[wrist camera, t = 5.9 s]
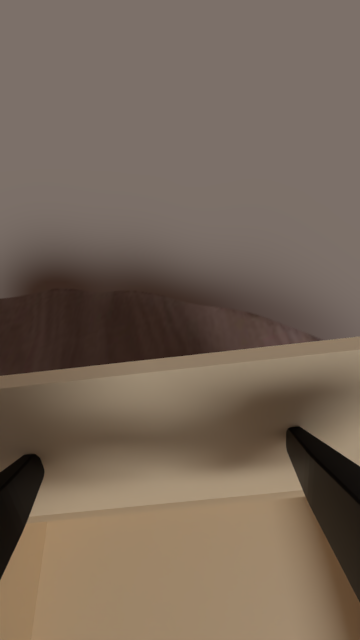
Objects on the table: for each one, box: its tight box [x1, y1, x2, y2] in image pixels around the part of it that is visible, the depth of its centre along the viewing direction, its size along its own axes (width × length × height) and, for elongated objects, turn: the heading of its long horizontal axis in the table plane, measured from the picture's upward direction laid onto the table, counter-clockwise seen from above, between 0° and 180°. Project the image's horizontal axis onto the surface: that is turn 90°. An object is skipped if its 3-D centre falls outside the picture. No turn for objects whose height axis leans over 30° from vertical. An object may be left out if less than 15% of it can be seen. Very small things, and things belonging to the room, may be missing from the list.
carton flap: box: [0, 337, 360, 517], centre depth 10 cm, size 12×20×1 cm
